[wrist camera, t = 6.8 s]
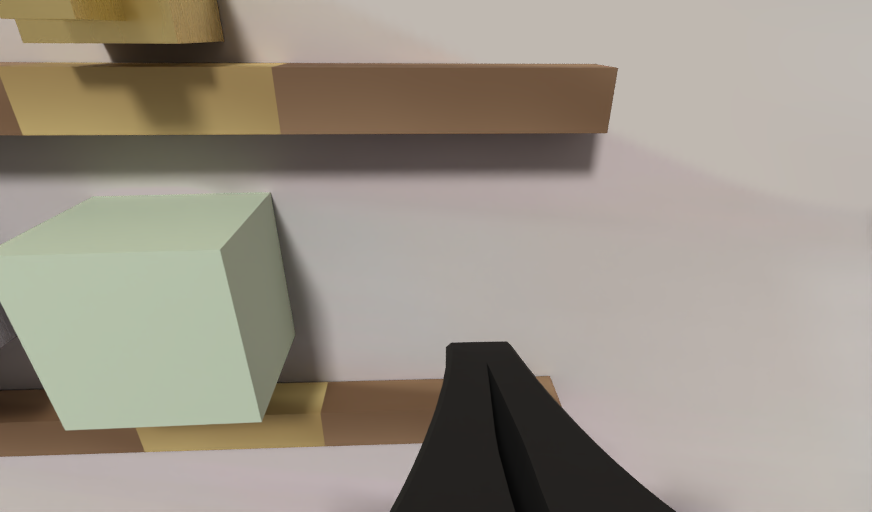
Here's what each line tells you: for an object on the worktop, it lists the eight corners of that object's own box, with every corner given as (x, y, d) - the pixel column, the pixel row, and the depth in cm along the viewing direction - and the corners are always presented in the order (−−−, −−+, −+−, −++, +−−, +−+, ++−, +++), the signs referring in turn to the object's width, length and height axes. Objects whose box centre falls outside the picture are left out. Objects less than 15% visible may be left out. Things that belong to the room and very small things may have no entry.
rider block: (296, 332, 16) (261, 422, 12) (146, 337, 15) (65, 430, 12) (271, 190, 13) (220, 249, 10) (95, 195, 13) (-23, 256, 10)
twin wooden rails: (545, 407, 17) (556, 438, 16) (-106, 426, 16) (-153, 461, 15) (595, 63, 12) (617, 68, 11) (-362, 61, 11) (-468, 65, 10)
